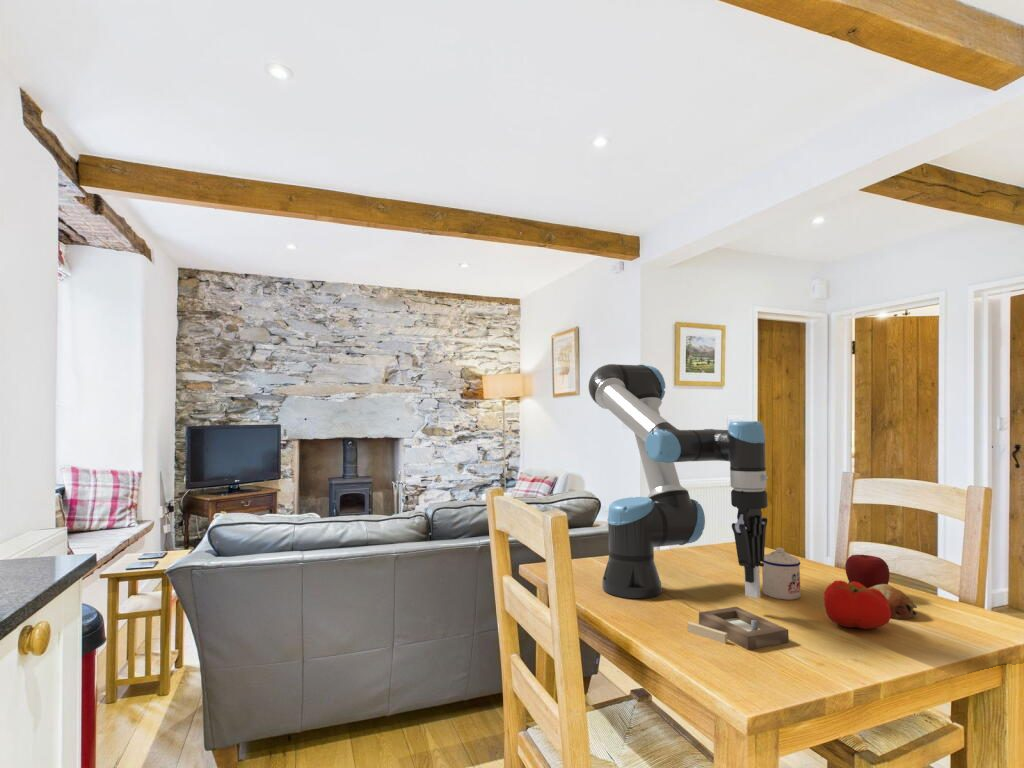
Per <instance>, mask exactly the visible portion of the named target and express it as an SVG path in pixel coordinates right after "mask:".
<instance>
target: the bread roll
mask: <svg viewBox="0 0 1024 768" xmlns="http://www.w3.org/2000/svg"><path fill="white" fill-rule="evenodd" d="M870 588H873V589H875V590H878V591H880V592H881V593H882V594H883V595H884V596H885V597H886V599H887V601H888V603H889V606H890V610H891V618H890V619H893V620H909V619H912V618H913V616H916V615H918V614H917V612H916V611H915V610H914V609H917V608H918V607H917V605H916V604H914V600H913V599H911V598H910V597H909V596H907V595H906V593H904V592H903V591H902V590H899V589H897V588H895V587H894V586H891V585H889V584H888V585H887V584H880V585H875V586H873V587H870ZM870 588H869V589H870Z"/></svg>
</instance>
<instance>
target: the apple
mask: <svg viewBox="0 0 1024 768" xmlns="http://www.w3.org/2000/svg"><path fill="white" fill-rule="evenodd" d="M845 573H846V577H847V580H848V582H849V583H850V582H853V581H854V582H858V583H860V584H862V585H863V586H865V587H866V588H870V587H873V586H875V585H880V584H887V585H889V582H890V568H889V564H887V562H886V561H885V560H884V559H883V558H881V557H879V556H874V555H869V554H851V555H850V556H849V557H847V559H846V560H845Z"/></svg>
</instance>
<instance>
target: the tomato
mask: <svg viewBox="0 0 1024 768" xmlns="http://www.w3.org/2000/svg"><path fill="white" fill-rule="evenodd" d="M823 603H824V608H825V613H826V614H827V617H828V618H829V619H830V620H831V621H832V622H834V623H836V624H837V625H839V626H842V627H844V628H858V629H863V630H870V629H875V628H879V627H883V626H885V625H887V624H888V623H889V622H890V620H891V619H892V618H891V610H890V606H889V603H888V601H887V599H886V597H885V596H884V595H883V594H882V593H881V592H880V591H878V590H875V589H873V588H870V589H869V588H866V587H865V586H863V585H862V584H860V583H858V582H854V581H853V582H850V583H849V581H848V582H846V581H845V580H842V579H841V580H838V579H837V580H834V581H832V583H830V584H829V585H827V587H826V589H825V591H824V594H823Z"/></svg>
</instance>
